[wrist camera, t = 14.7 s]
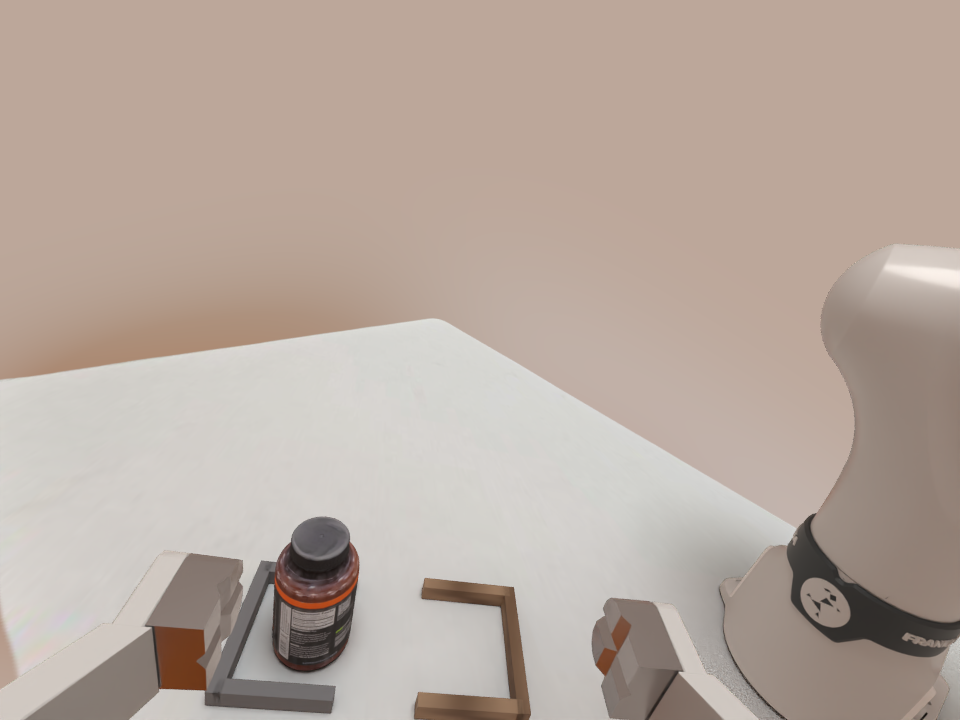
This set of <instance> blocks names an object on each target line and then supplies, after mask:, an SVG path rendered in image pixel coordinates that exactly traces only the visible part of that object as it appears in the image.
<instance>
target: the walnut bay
mask: <svg viewBox="0 0 960 720" xmlns="http://www.w3.org/2000/svg"><path fill="white" fill-rule="evenodd" d="M422 599H432V600H442V601H452V602H462V603H472V604H482V605H492V606H501V612H502V622H503V631H504V641H505V651H506V660H507V670H508V680H509V689H510V699H507V698H493V697H479V696H465V695H451V694H437V693H423V692H418V695H417V699H416V703H415V715H414V719H428V720H529V718H530V716H531V711H530V703H529V696H528V688H527V681H526V674H525V666H524V659H523V651H522V644H521V636H520V629H519V622H518V614H517V607H516V599H515V592H514V587H506V586H496V585H487V584H477V583H468V582H458V581H449V580H440V579H430V578H425V579H424V583H423V588H422Z"/></svg>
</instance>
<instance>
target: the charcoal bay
mask: <svg viewBox="0 0 960 720" xmlns="http://www.w3.org/2000/svg"><path fill="white" fill-rule="evenodd" d="M276 563H277V562H269V561H261V563H260V565H259V567H258V570H257V572H256V574H255V577H254V579H253V581H252V584H251V586H250V588H249V591H248V593H247V595H246V598H245V600H244V602H243V605H242V607H241V609H240V612H239V614H238V617H237V621H236V623H235V626H234V628H233V630H232V633H231V635H230V636H229V637H228V640H227V642H226V644H225V647H224V649H223V651H222V654H221V659H220V661H219V663H218V666H217V668H216V670H215V672H214V675H213V677H212V679H211V682H210V684H209V686H208V689H207V691H205V705H210V706H225V707H241V708H256V709H272V710H288V711H303V712H319V713H331V710H332V705H333V700H334V694H335V687H336V686H326V685H312V684H299V683H285V682H271V681H257V680H243V679H231V678H232V676H233V673H234V671H235V668H236V666H237V663H238V661H239V658H240V655H241V653H242V650H243V648H244V645H245V643H246V640H247V638H248V635H249V633H250V630H251V627H252V625H253V622H254V620H255V617H256V615H257V612H258V610H259V607H260V604H261V602H262V599H263V597H264V594H265V592H266V589H267V587H268V584H269V583H271V584H275V582H274V579H275V568H276Z"/></svg>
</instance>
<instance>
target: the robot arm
mask: <svg viewBox="0 0 960 720" xmlns="http://www.w3.org/2000/svg"><path fill="white" fill-rule="evenodd" d="M821 333H822V338H823V342H824V345H825V348H826V349H827V352H828V354H829V356H830V357H831V358H832V360H833V361H834V363H835V364H836V366H837V367H838V369H839V370H840V372H841V374H842V376H843V378H844V380H845V382H846V385H847V387H848V389H849V393H850V396H851V399H852V403H853V408H854V417H855V430H854V439H853V444H852V448H851V452H850V455H849V457H848V460H847V462H846V464H845V466H844V468H843V470H842V472H841V474H840V476H839V478H838V479H837V481H836V483H835V485H834V487H833V488H832V490H831V492H830V493H829V495H828V497H827V498H826V500H825V502H824V503H823V505H822V506H821V508H820V509H819V511H818V512H817V513H815V514H812V515H810V516H809V517H808V518H807V519H806V520H805V521H804V523H802V524H801V525H800V526H799V527H798V528H797V530H796V531H795V533H794V535H793V538H792V539H791V541H790V542H789V544H788V546H785V545H779V546H775V547H774V546H769V547H768V548H766V549H765V551H764V552H763V553H762V554H761V556H760V557H759V558H758V559H757V561H756V562H755V563H754V565H753V566H752V567H751V568H750V570H749V571H748V572H747V574H746V575H745V576H744V577H742V578H727V579H725V580H724V581H723V582H722V583H721V585H720V592H721V596H722V598H723V601H724V604H725V616H724V634H725V638H726V641H727V644H728V647H729V649H730V652H731V654H732V656H733V658H734V660H735V661H736V663H737V665H738V667H739V668H740V670H741V671H742V673H743V674H744V676H745V677H746V678H747V680H748V681H749V682H750V683H751V685H752V686H753V687H754V688H755V689H756V691H757V692H758V693H759V694H760V695H761V696H762V697H763V698H764V699H765V700H766V701H767V702H768V703H769V704H770V705H771V706H772V707H773V708H774V709H775V710H776V711H778V712H779V713H780V714H781V715H782V716H783V717H785V718H786V719H787V720H936V719H937V717H938V715H939V712H940V710H941V708H942V706H943V704H944V701H945V699H946V697H947V695H948V692H949V686H948V684H947V682H946V681H945V680H944V678H943V677H942V675H941V674H940V671H941V669H942V667H943V664H944V662H945V659H946V656H947V654H948V651H949V648H950V645H951V644H952V643H954V642H955V641H956V640H957V639H958V638H959V637H960V249H958V248H948V247H937V246H924V245H909V244H892V245H889V246H886V247H884V248H881V249H879V250H877V251H874V252H872V253H871V254H869V255H867V256H865V257H863V258H862V259H860V260H859V261H857V262H856V263H854V264H853V265H852V266H851V267H850V268H849V269H847V270H846V271H845V272H844V273H843V274H842V275H841V276H840V277H839V279H838V280H837V281H836V282H835V284H834V285H833V287H832V288H831V290H830V291H829V293H828V295H827V297H826V300H825V302H824V306H823V309H822V314H821ZM242 573H243V560H238V559H230V558H223V557H215V556H208V555H200V554H193V553H184V552H175V551H167V550H165V551H163V552H162V553H161V554H160V555H159V556H158V557H157V558H156V559H155V561H154V562H153V564H152V565H151V567H150V568H149V570H148V571H147V573H146V574H145V575H144V577H143V578H142V580H141V581H140V583H139V584H138V586H137V587H136V589H135V590H134V592H133V593H132V595H131V596H130V598H129V599H128V601H127V602H126V604H125V605H124V607H123V608H122V610H121V611H120V612H119V614H118V615H117V617H116V618H115V620H114V621H113V623H112V624H109V623H103V624H102V625H100V626H98V627H97V628H95V629H94V630H92V631H91V632H89V633H87V634H86V635H84V636H83V637H81V638H80V639H78V640H77V641H75V642H73V643H72V644H70V645H69V646H67V647H66V648H64V649H62V650H61V651H59V652H58V653H56V654H55V655H53V656H52V657H50V658H48V659H47V660H45V661H44V662H42V663H41V664H39V665H37V666H36V667H34V668H33V669H31V670H30V671H28V672H27V673H25V674H23V675H22V676H20V677H19V678H17V679H16V680H14V681H12V682H11V683H9V684H8V685H6V686H5V687H3V688H2V689H0V720H129V719H130V718H131V717H132V716H133V715H134V714H136V713H137V712H138V711H139V710H140V709H141V708H142V707H143V706H144V705H145V704H146V703H147V702H149V701H150V700H151V699H152V698H153V697H154V696H155V695H156V694H157V693H158V692H159V689H178V690H204V691H207V689H208V686H209V684H210V682H211V679H212V677H213V675H214V672H215V670H216V668H217V666H218V663H219V661H220V659H221V642H222V641H223V640H225V639H226V638H227V637H228V636H230V635H231V633H232V630H233V628H234V626H235V623H236V621H237V617H238V614H239V611H240V607H241V602H242V596H243V586H242V585H241V584H240V583H239V579H240V577H241V575H242ZM603 610H604V613H605V616H604V617H602V618H601V619H599V620H598V621H597V622H596V624H595V627H594V629H593V634H592V652H593V657H594V661H595V665H596V666H597V668H598V669H599V670H600V671H601V672H602V673H603V675H604V676H605V677H604V680H603V682H602V685H601V688H602V691H603V695H604V699H605V703H606V706H607V710H608V714H609V717H610V718H612V719H622V720H759V719H758V718H757V717H756V716H755V715H754V714H753V713H752V712H751V711H750V710H749V709H748V708H747V707H746V706H745V705H744V704H743V703H742V702H741V701H740V700H739V699H738V698H737V697H736V696H735V695H734V694H733V693H732V692H730V691H729V690H728V689H727V688H726V687H725V686H724V685H723V684H722V683H721V682H720V681H719V680H718V679H717V678H716V677H715V676H714V675H711V674H707V673H706V670H705V668H704V666H703V664H702V662H701V660H700V658H699V655H698V653H697V651H696V649H695V647H694V645H693V643H692V641H691V638H690V636H689V634H688V632H687V630H686V628H685V626H684V623H683V621H682V619H681V617H680V615H679V613H678V611H677V609H676V608H675V607H674V606H673V605H672V604H666V603H656V602H649V601H641V600H629V599H618V598H610V599H609V600H607V601H606V603H605V605H604V607H603Z"/></svg>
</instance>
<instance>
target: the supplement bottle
mask: <svg viewBox="0 0 960 720" xmlns="http://www.w3.org/2000/svg"><path fill="white" fill-rule="evenodd" d="M358 574H359V557H358V554H357V551H356V549H355V547H354V546H353V545H352V544H351V542H350V534H349V531H348V529H347V527H346V526H345V525H344V524H343V523H342V522H341V521H339V520H337V519H335V518H330V517H315V518H311V519H308V520H306V521H304V522H303V523H301V524H300V525H299V526H298V527H297V528H296V529H295V531H294V532H293V535H292V538H291V542H290V543H289V544H288V545H287V546H286V547H285V548H284V549H283V551H282V552H281V554H280V556H279V558H278V560H277V563H276V568H275V579H274V582H275V584H274V608H273V627H272V630H273V634H272V638H273V647H274V651H275V654H276V655H277V657H278V658H279V659H280V660H281V661H282V662H283V663H284V664H285V665H286V666H288V667H290V668H292V669H295V670H302V671H308V670H315V669H318V668H321V667H324V666H326V665H327V664H329V663H330V662H332V661H333V660H335V659H336V658H337V657H338V656H339V655H340V653H341V652H342V651H343V649H344V648H345V646H346V644H347V641H348V638H349V634H350V629H351V622H352V616H353V609H354V602H355V596H356V588H357V582H358Z"/></svg>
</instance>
